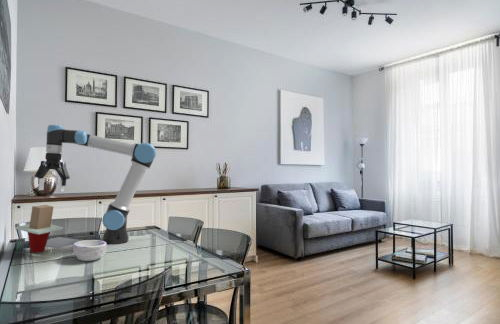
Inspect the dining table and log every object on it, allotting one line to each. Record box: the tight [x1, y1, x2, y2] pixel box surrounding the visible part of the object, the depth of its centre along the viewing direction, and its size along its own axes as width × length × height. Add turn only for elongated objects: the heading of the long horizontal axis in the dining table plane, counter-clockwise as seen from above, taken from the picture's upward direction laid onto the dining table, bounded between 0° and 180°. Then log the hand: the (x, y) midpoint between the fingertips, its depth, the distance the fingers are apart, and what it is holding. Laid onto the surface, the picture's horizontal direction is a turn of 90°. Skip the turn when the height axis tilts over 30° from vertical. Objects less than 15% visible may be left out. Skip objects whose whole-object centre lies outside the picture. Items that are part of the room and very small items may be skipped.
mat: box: [45, 236, 84, 249], centre depth 180 cm, size 20×20×1 cm
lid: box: [14, 204, 64, 234], centre depth 162 cm, size 15×15×12 cm
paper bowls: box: [72, 239, 108, 262], centre depth 157 cm, size 15×15×8 cm
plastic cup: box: [27, 232, 51, 253], centre depth 162 cm, size 11×11×12 cm
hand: (51, 190), depth 172 cm, fingers open, 13 cm apart
